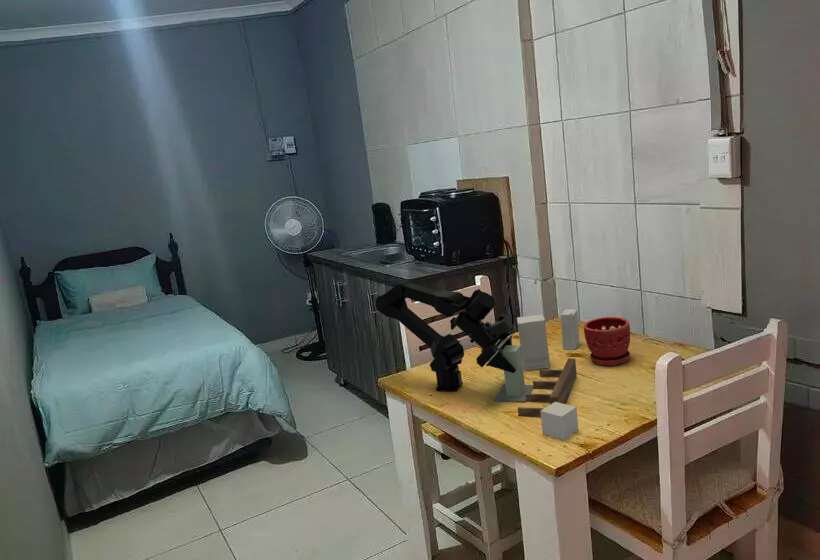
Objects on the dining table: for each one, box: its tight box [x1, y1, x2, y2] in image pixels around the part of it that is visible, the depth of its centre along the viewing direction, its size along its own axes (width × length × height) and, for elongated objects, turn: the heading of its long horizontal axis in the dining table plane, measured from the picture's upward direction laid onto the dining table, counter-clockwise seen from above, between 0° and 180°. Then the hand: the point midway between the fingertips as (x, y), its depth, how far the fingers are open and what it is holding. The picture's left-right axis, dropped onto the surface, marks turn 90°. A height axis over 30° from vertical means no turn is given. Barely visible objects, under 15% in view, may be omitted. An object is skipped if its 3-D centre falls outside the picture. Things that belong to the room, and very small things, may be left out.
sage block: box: [502, 344, 526, 396], centre depth 171 cm, size 4×5×13 cm
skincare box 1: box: [516, 314, 551, 372], centre depth 189 cm, size 8×7×16 cm
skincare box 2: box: [560, 308, 581, 351], centre depth 202 cm, size 6×4×12 cm
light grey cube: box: [540, 402, 579, 441], centre depth 147 cm, size 6×6×6 cm
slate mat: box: [493, 383, 534, 403], centre depth 173 cm, size 9×11×1 cm
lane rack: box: [517, 357, 578, 418], centre depth 168 cm, size 10×27×6 cm, turn 156°
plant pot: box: [583, 316, 631, 366], centre depth 186 cm, size 13×13×12 cm
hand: (518, 366), depth 170 cm, fingers open, 7 cm apart
